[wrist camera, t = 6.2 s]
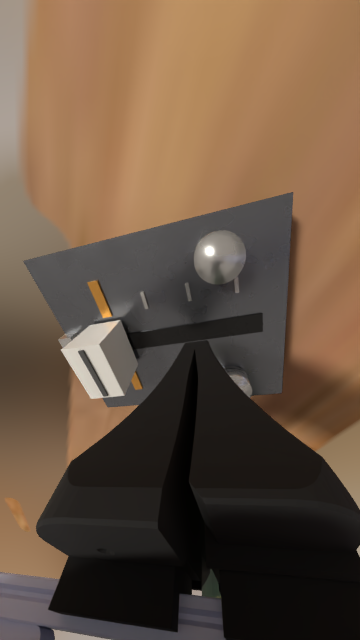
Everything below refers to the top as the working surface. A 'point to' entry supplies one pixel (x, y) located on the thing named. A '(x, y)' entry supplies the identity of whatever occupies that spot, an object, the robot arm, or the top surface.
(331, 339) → the top surface
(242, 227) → the console
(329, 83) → the top surface
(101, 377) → the fader cap
